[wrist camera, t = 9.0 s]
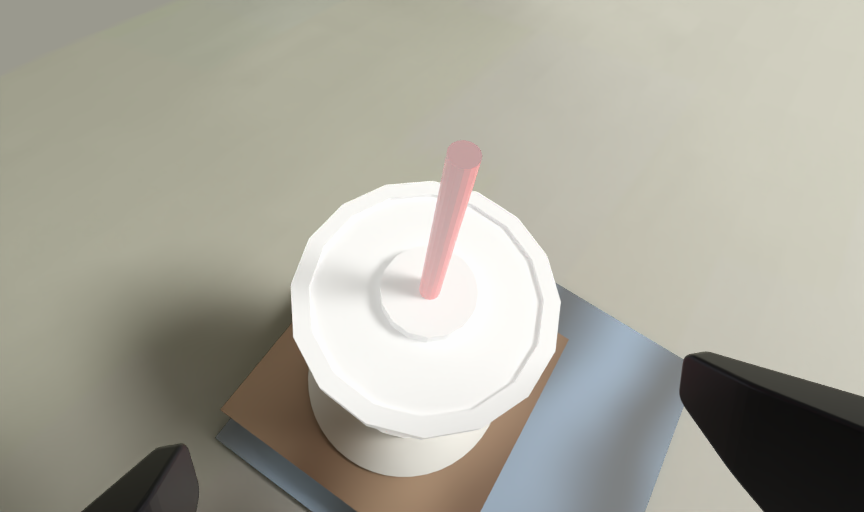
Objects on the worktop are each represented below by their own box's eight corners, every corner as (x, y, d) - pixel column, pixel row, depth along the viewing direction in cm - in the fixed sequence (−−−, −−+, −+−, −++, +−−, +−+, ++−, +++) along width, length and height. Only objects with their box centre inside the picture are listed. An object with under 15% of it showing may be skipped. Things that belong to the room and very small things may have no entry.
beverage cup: (505, 340, 20) (723, 89, 7) (447, 490, 17) (634, 499, 5) (373, 279, 20) (364, -49, 8) (298, 415, 18) (102, 245, 5)
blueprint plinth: (693, 369, 22) (724, 358, 20) (569, 705, 17) (594, 734, 15) (410, 199, 25) (412, 174, 23) (217, 438, 19) (198, 433, 17)
